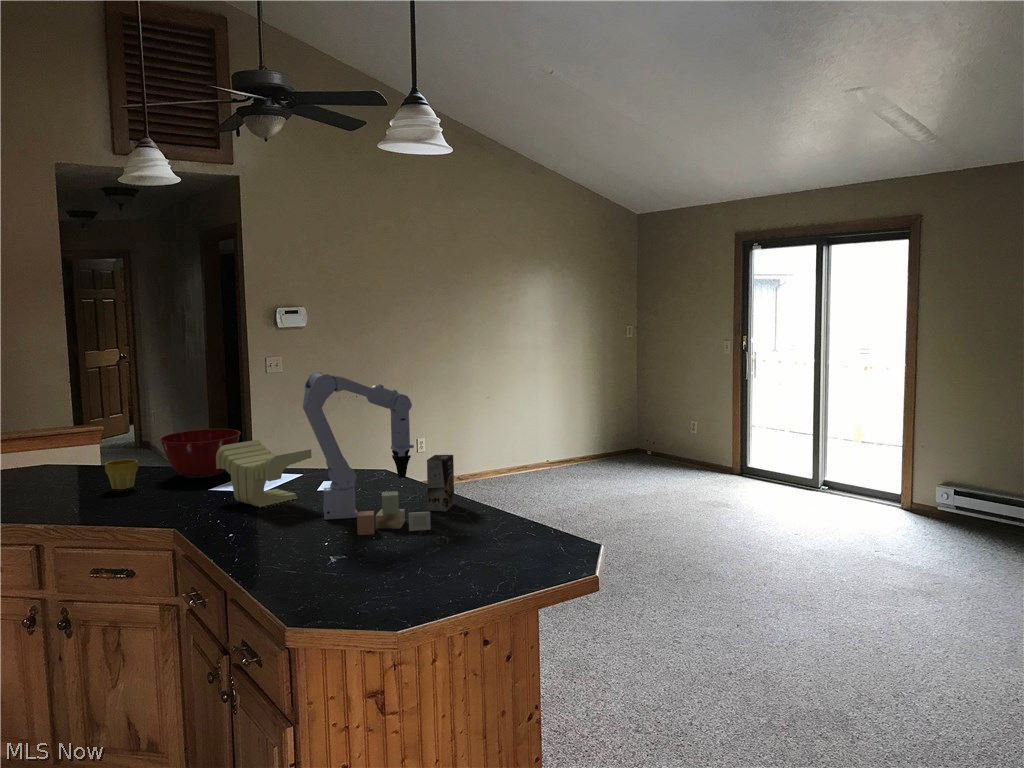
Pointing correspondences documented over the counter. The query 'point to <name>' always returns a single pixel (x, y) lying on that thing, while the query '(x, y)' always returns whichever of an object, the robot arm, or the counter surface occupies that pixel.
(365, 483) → the counter surface
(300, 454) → the slatted curved stool
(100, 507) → the counter surface
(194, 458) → the mixing bowl
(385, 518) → the birch base block
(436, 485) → the coffee box
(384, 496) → the sage block
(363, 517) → the terracotta block
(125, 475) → the plant pot
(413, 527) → the placard
